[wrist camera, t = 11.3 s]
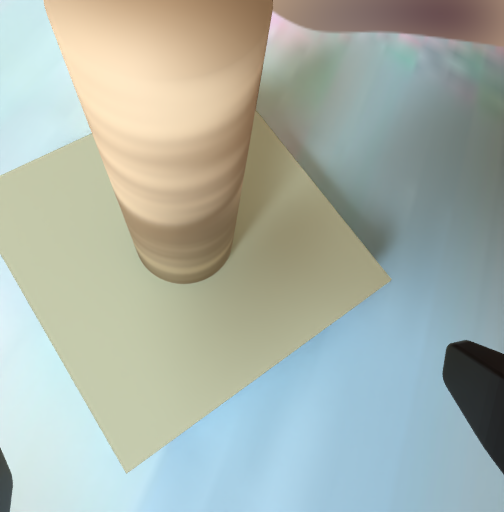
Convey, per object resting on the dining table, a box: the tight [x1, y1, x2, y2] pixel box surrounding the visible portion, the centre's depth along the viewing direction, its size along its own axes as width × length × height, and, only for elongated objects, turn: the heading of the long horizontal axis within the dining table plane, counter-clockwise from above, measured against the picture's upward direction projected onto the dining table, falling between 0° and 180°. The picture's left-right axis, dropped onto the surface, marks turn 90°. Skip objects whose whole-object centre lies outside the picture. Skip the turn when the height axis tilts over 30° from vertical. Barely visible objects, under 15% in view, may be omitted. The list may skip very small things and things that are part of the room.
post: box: [44, 0, 273, 284], centre depth 15 cm, size 4×4×12 cm
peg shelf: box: [0, 110, 391, 474], centre depth 22 cm, size 14×14×4 cm
